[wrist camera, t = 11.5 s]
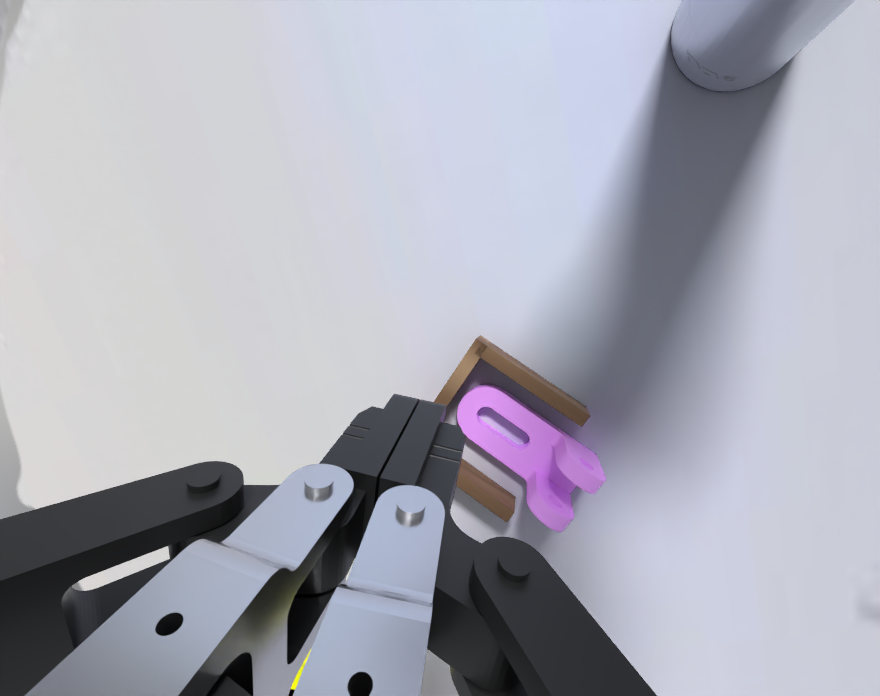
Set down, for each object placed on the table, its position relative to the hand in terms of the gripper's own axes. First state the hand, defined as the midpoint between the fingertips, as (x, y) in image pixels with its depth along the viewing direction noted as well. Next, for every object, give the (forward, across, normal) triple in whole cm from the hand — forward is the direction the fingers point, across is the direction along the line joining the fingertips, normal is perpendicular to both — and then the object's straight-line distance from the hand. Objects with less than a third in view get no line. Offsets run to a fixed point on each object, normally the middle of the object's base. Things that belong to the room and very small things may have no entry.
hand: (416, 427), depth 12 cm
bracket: (+25, -6, +14) cm, 30 cm away
